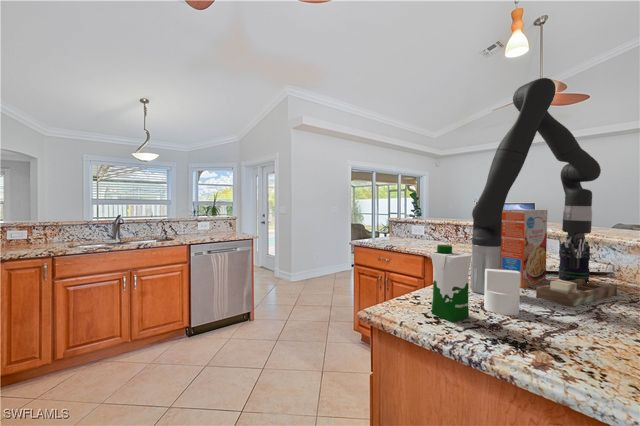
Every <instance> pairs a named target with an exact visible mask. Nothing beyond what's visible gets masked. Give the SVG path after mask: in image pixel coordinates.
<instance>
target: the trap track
mask: <svg viewBox="0 0 640 426" xmlns="http://www.w3.org/2000/svg"><path fill="white" fill-rule="evenodd" d="M568 282H572V283H577V286H576V293H574V294H566V293H561V292H557V291H553V290H550V284H547V285H541V286H537V287H535V288H536V292H535V293H536V295H535V298H537V299H540V300H545V301H549V302H552V303H556V304H560V305H564V306H567V307H570V308H572V307H576V306H581V305H583V304H587V303H591V302H594V301H598V300H603V299H605V298H609V297H613V296H617V291H618V289H617V288H618V285H617V284H614V283H613V284H609V285H605V286H603V285H597V284H592V283H585V279H583V278H581V279H576V280H571V281H568Z"/></svg>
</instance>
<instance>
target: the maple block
mask: <svg viewBox="0 0 640 426" xmlns="http://www.w3.org/2000/svg"><path fill="white" fill-rule="evenodd" d="M549 285H550V290H553V291H557V292H561V293H566V294H574V293H576V286H577V283H572V282H568V281H563V280H560V279H556V280H552V281H551V280H550V284H549Z"/></svg>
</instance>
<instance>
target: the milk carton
mask: <svg viewBox="0 0 640 426" xmlns="http://www.w3.org/2000/svg"><path fill="white" fill-rule="evenodd" d="M436 248H437V249H436V252H435V251H434V252H431V253H430V255H431V262H432V267H433V268H432V272H433V277H432V279H433V280H432V301H431V302H432V304H431V314H432V315H433V316H436V317H439V318H441V319H444V320H446V321H447V322H451V323H455V322H459V321H462V320H466V319H470V313H469V312H470V311H469V309H470V308H469V307H470V306H469V286H470V285H469V284H470V283H469V282H470V281H469V280H470V279H469V277H470V268H471V263H472V254H465V253H463V252H454V251H453V245H448V244H438V245H436Z"/></svg>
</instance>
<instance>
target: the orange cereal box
mask: <svg viewBox="0 0 640 426" xmlns="http://www.w3.org/2000/svg"><path fill="white" fill-rule="evenodd" d="M547 235H548V209H503V211H502V238H501V270H512V271H518V272H520V289H523V290H524V289H526V288H529V287H531V286H533V285H536V284H538V282H539V283H541V282H543V280H544V281H546V280H547V279H546V278H547V277H546V276H547V248H548V245H547V243H548V240H547V238H548V236H547Z"/></svg>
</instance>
